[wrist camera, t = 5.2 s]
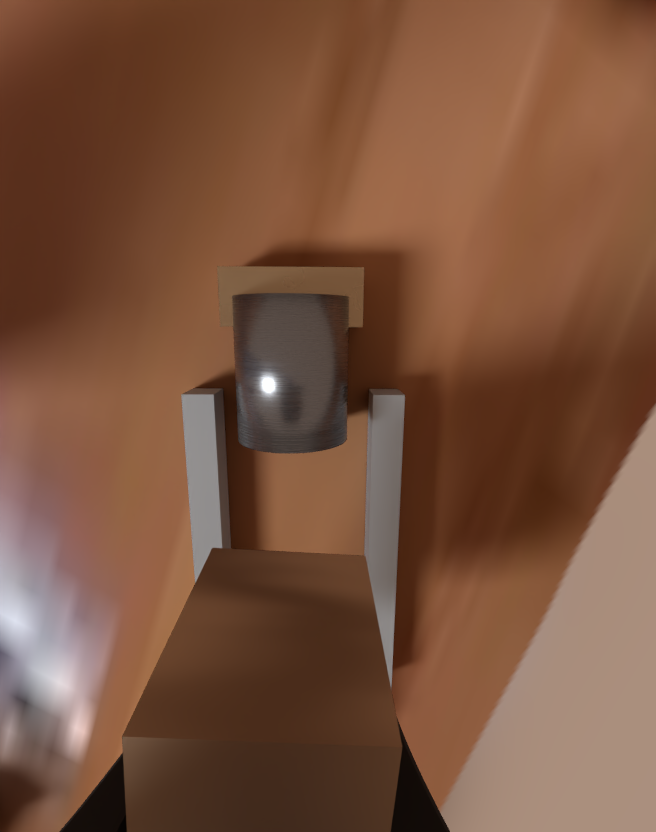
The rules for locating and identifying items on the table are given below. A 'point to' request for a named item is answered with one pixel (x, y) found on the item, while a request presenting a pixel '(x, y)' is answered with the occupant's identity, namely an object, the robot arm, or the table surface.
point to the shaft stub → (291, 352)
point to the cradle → (381, 490)
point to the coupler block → (268, 704)
